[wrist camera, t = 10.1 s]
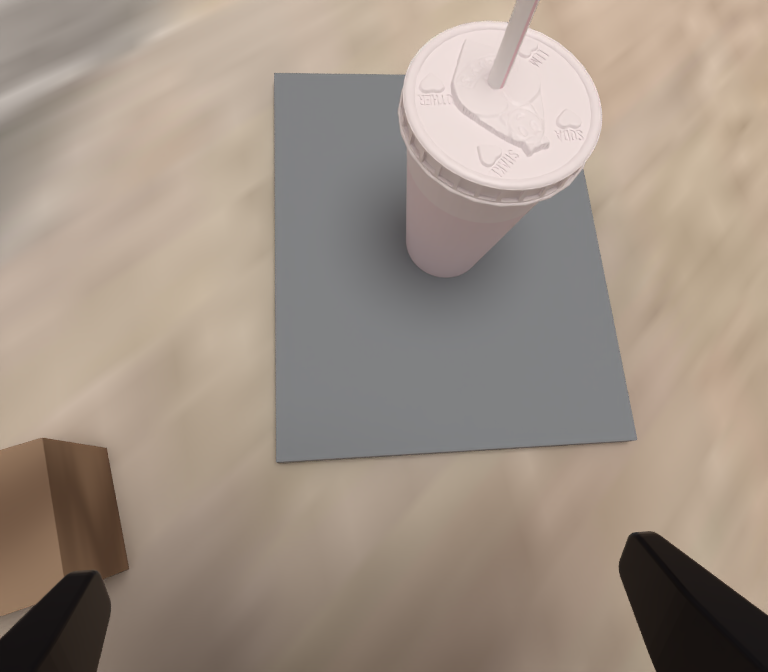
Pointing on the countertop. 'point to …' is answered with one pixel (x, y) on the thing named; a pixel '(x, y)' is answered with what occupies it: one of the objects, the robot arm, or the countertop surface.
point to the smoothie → (489, 135)
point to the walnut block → (55, 518)
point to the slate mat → (424, 302)
